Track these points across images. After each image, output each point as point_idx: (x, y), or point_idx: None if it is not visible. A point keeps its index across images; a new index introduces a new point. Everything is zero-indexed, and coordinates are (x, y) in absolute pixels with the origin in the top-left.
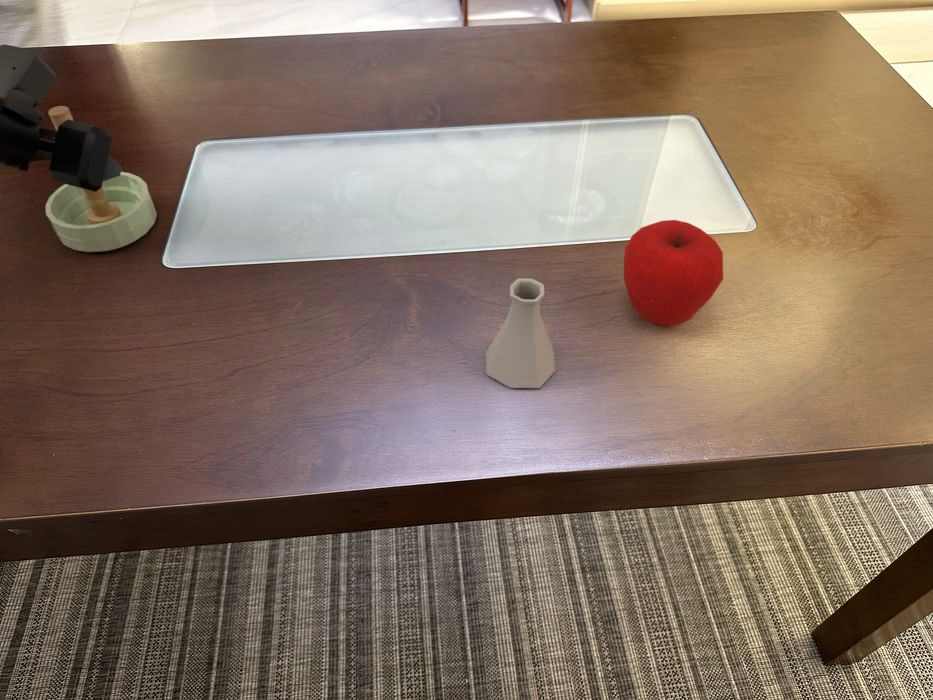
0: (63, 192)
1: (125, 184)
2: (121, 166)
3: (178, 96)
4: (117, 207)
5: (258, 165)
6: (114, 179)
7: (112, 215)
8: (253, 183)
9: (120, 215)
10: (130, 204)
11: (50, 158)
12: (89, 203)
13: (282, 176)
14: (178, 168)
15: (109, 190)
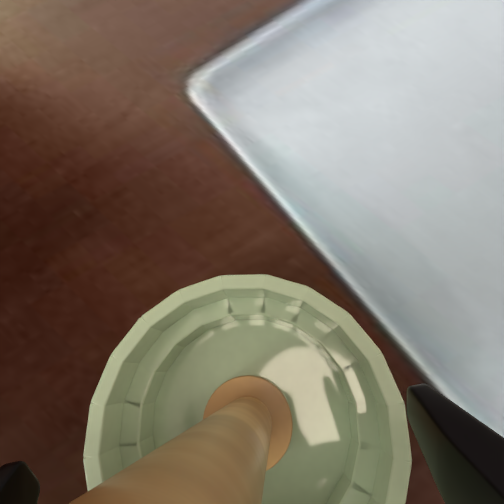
0: (104, 456)
1: (214, 301)
2: (429, 386)
3: (28, 9)
4: (266, 384)
5: (355, 75)
6: (184, 310)
7: (283, 421)
8: (400, 120)
9: (284, 396)
10: (241, 329)
11: (33, 501)
12: (155, 394)
13: (430, 74)
14: (214, 165)
15: (184, 338)
